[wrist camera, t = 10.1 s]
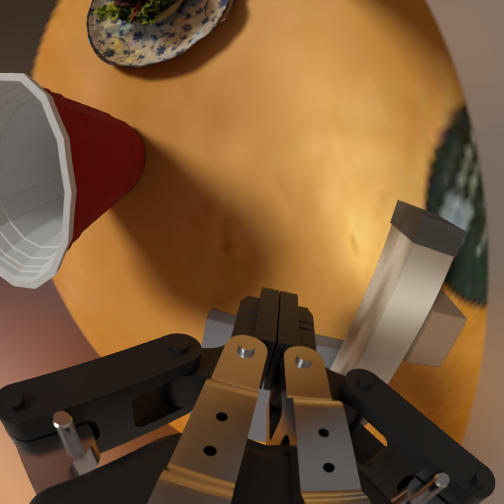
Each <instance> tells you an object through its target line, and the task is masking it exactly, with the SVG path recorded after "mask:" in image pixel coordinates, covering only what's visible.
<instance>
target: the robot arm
mask: <svg viewBox="0 0 504 504" xmlns="http://www.w3.org/2000/svg"><path fill="white" fill-rule="evenodd" d="M313 324H314V321H313V315H312V314H311V312H310V311H309V310H308V308H305V307H299V306H298V295H297V294H293V293H289V292H284V291H280V293H279V290H274V289H269V288H264V287H262V290H261V295H260V298H256V297H251V296H247V297H245V298H244V299H243V300H242V301H241V303H240V306H239V310H238V313H237V317H236V321H235V324H234V328H233V332H232V335H231V338H230V339H229V340H228V341H227V342H226V344H225V345H223V346H220V347H216V348H202V347H201V345H200V343H199V342H198V341H197V340H196V339H195V338H193V337H191V336H189V335H186V334H179V333H175V334H169V335H166V336H163V337H161V338H158V339H155V340H152V341H149V342H146V343H143V344H140V345H137V346H134V347H131V348H128V349H125V350H122V351H119V352H116V353H113V354H110V355H107V356H104V357H101V358H98V359H95V360H92V361H88V362H85V363H82V364H79V365H75V366H72V367H69V368H66V369H62V370H59V371H56V372H52V373H49V374H45V375H42V376H38V377H35V378H32V379H28V380H24V381H20V382H17V383H13V384H10V385H7V386H5V387H3V388H2V389H0V420H1V422H2V423H3V425H4V427H5V430H6V432H7V433H8V435H9V436H10V438H11V439H12V441H13V442H14V444H15V445H16V447H17V450H18V453H19V455H20V458H21V461H22V463H23V465H24V468H25V470H26V473H27V475H28V477H29V479H30V482H31V484H32V486H33V488H34V491H35V492H36V496H35V497H34V498H33V499H32V501H31V502H30V504H479V503H480V502H482V501H483V500H484V499H486V498H487V497H488V496H490V495H491V494H492V492H493V490H494V488H495V478H494V475H493V473H492V472H491V470H490V469H489V468H488V467H487V466H485V465H484V464H483V463H481V462H480V461H479V460H478V459H477V458H475V457H474V456H473V455H472V454H471V453H469V452H468V451H467V450H466V449H464V448H463V447H462V446H461V445H460V444H458V443H457V442H456V441H455V440H453V439H452V438H451V437H450V436H449V435H447V434H446V433H445V432H444V431H443V430H441V429H440V428H439V427H438V426H437V425H435V424H434V423H433V422H432V421H430V420H429V419H428V418H427V417H426V416H424V415H423V414H422V413H421V412H420V411H418V410H417V409H416V408H415V407H414V406H412V405H411V404H410V403H409V402H408V401H406V400H405V399H404V398H403V397H402V396H400V395H399V394H398V393H397V392H396V391H395V390H393V389H392V388H391V387H390V386H389V385H387V384H386V383H385V382H384V381H383V380H381V379H380V378H379V377H378V376H377V375H375V374H374V373H372V372H371V371H368V370H365V369H359V368H358V369H352V370H350V371H348V372H347V374H346V376H345V375H342V374H339V373H337V372H334V371H332V370H330V369H328V368H327V367H325V365H324V361H323V358H322V357H321V355H320V354H319V353H317V350H316V340H315V331H314V325H313ZM263 383H264V387H263V390H269V391H270V397H269V400H268V402H267V405H266V445H264V444H261V443H258V442H256V441H253V440H250V439H248V434H249V430H250V427H251V423H252V419H253V415H254V411H255V406H256V402H257V398H258V394H259V392H258V390H259V389H262V386H263ZM192 410H193V411H192ZM191 411H192V413H191V415H190V417H189V420H188V422H187V424H186V426H185V428H184V431H183V433H179V434H173V435H169V436H165V437H162V438H159V439H157V440H155V441H153V442H151V443H149V444H147V445H145V446H143V447H141V448H139V449H137V450H135V451H134V452H131V453H129V454H127V455H125V456H123V457H121V458H118V459H116V460H114V461H112V462H110V463H108V464H106V465H103V466H101V467H99V468H96V469H94V468H95V467H96V466H97V465H98V463H99V461H100V453H102V452H105V451H107V450H110V449H112V448H115V447H117V446H119V445H122V444H124V443H126V442H128V441H131V440H133V439H136V438H138V437H140V436H142V435H144V434H147V433H149V432H151V431H153V430H155V429H157V428H159V427H162V426H164V425H166V424H168V423H170V422H172V421H174V420H176V419H178V418H180V417H182V416H184V415H186V414H188V413H190V412H191ZM364 418H365V419H366V420H367V421H368V422H369V423H370V424H371V425H372V426H373V427H374V428H375V429H376V430H378V431H379V432H380V433H381V434H382V435H383V436H384V437H385V438H386V440H387V447H386V446H384V445H383V444H382V443H381V442H380V441H379V440H378V439H377V438H376V437H375V436H373V435H372V434H371V433H370V432H369V431H368V430H367V429H366V428H365V427H364V426H363V425H362V424H361V423H362V421H363V420H364ZM93 469H94V470H93Z"/></svg>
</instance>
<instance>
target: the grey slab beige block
mask: <svg viewBox="0 0 504 504" xmlns="http://www.w3.org/2000/svg"><path fill="white" fill-rule="evenodd" d="M236 317H237V316H236V315H233V314H229V313H225V312H221V311H218V310H214V309H211V310H210V313H209V315H208V317H207V320H206V326H205V331H204V337H203V342H202V348H216V347H220V346H223V345H225V344H226V342H227V341H228V340H229V339H230V338H231V335H232V332H233V328H234V324H235V321H236ZM466 321H467V319H466V317H465V316H464V315H463V314H462V313H461V311H460V310H459V309H458V308H457V307H456V306H455V304H454V303H453V302H452V301H451V300H450V299H449V297H448V296H447V295H446V294H445V293H444V292H443V291H442V289H441V288H440V290H439V292H438V294H437V296H436V299H435V301H434V303H433V305H432V307H431V309H430V311H429V313H428V315H427V317H426V319H425V321H424V323H423V325H422V326H421V328H420V330H419V332H418V334H417V336H416V338H415V339H414V341H413V343H412V345H411V347H410V348H409V350H408V352H407V354H406V355H405V357H404V358H405V361H406V363H412V364H419V365H427V366H434V367H440V366H441V364H442V362H443V361H444V359H445V358H446V356H447V354H448V353H449V351H450V349H451V348H452V346H453V344H454V342H455V341H456V339H457V337H458V335H459V334H460V332H461V330H462V328H463V326H464V324H465V323H466ZM315 340H316V350H317V353H319V354H320V355H321V357H322V358H323V361H324V365H325V367H327V368H328V369H330V368H331V366H332V364H333V362H334V360H335V358H336V356H337V354H338V352H339V350H340V348H341V346H342V344H343V342H344V340H340V339H335V338H330V337H325V336H320V335H316V334H315ZM263 387H264V383H263V386H262V389H259V390H258V392H259V394H258V398H257V402H256V406H255V411H254V415H253V419H252V423H251V427H250V430H249V434H248V439H251V440H256V441H261V442H266V405H267V402H268V400H269V397H270V391H269V390H263ZM192 411H193V410H192ZM192 411H191V412H190V415H191V413H192Z"/></svg>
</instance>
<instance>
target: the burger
mask: <svg viewBox="0 0 504 504" xmlns="http://www.w3.org/2000/svg"><path fill="white" fill-rule="evenodd" d="M233 1H234V0H92V2H91V6H90V8H89V11H88V15H87V24H86V26H87V33H88V41H89V42H90V44H91V46H92V48H93V50H94V52H95V53H96V55H97V56H98V57H99V58H100V59H101V60H102V61H104V62H106V63H107V64H109V65H116V66H121V67H125V68H138V67H147V66H150V65H153V64H156V63H159V62H163V61H167V60H170V59H173V58H176V57H178V56H180V55H181V54H182V53H184V52H185V51H186V50H188V49H189V48H190V47H191V46H193V45H194V44H195V43H197V42H198V41H199V40H201V39H202V38H203V37H205V36H207V35H208V34H210V33H211V32H212V31H213V29H214V28H215V27H216V26H217V25H218V24H219V23H220V22H222V21H225V19H226V17H227V15H228V14H229V12H230V10H231V7H232V4H233Z"/></svg>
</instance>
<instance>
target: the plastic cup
mask: <svg viewBox="0 0 504 504" xmlns="http://www.w3.org/2000/svg"><path fill="white" fill-rule="evenodd" d="M144 164H145V150H144V144H143V142H142V140H141V138H140V136H139V134H138V133H137V132H136V131H135V130H134V129H133V128H132V127H130V126H129V125H128V124H127V123H126V122H124V121H121V120H119V119H116V118H114V117H112V116H111V115H110V114H108V113H105V112H103V111H100V110H97V109H95V108H92V107H89V106H87V105H84V104H81V103H79V102H76V101H73V100H70V99H67V98H65V97H64V96H62V95H61V94H58V93H54V92H51V91H50V90H49V89H46V88H42V87H41V86H40V85H39V84H38V83H37V82H36V81H34V80H33V79H32V78H31V77H30V76H28V75H26V74H20V73H0V276H1V277H2V278H4V279H5V280H6V281H8V282H9V283H11V284H12V285H13V286H18V287H26V288H34V289H35V288H37V287H39V286H40V285H42V284H43V283H45V282H46V281H47V280H49V279H50V278H52V277H53V276H55V275H56V273H57V272H58V270H59V269H60V266H61V264H62V261H63V259H64V256H65V254H66V252H67V251H68V250H69V249H70V247H71V245H72V243H73V242H75V241H76V240H77V239H78V238H79V237H80V235H81V233H82V232H83V231H84V230H85V229H86V228H88V227H89V226H90V225H91V224H92V223H93V222H94V221H96V220H97V219H98V218H99V217H100V216H101V215H103V214H104V213H105V212H106V211H107V210H108V209H110V208H111V207H112V206H113V205H114V204H116V203H117V202H118V201H119V199H120V198H121V197H122V196H123V195H125V194H126V193H127V192H129V191H130V190H131V189H132V188H133V187H134V185H135V184H136V182H137V181H138V179H139V178H140V176H141V175H142V172H143V168H144Z"/></svg>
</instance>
